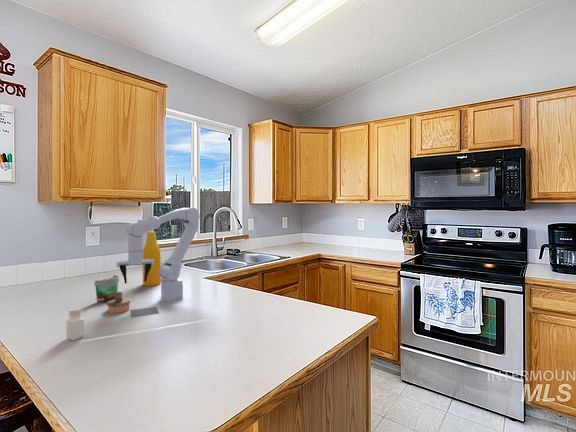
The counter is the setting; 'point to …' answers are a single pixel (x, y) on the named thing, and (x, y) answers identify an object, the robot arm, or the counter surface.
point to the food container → (106, 289)
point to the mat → (144, 311)
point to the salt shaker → (75, 324)
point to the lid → (118, 300)
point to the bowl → (118, 308)
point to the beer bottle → (152, 253)
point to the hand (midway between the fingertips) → (135, 282)
